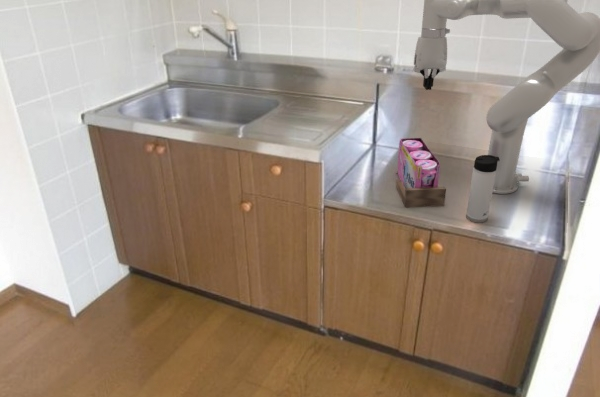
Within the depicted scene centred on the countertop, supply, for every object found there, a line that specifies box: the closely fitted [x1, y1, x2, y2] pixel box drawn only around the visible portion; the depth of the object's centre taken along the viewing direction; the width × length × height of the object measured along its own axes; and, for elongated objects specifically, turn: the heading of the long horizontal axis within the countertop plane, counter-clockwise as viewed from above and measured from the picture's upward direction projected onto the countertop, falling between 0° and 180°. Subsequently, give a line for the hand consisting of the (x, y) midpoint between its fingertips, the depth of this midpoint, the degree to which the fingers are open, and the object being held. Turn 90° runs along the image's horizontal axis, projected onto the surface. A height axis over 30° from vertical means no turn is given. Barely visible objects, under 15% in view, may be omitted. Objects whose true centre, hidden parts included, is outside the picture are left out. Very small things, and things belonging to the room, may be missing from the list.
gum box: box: [397, 137, 441, 189], centre depth 165 cm, size 24×8×14 cm, turn 3°
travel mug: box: [465, 154, 500, 224], centre depth 145 cm, size 6×7×20 cm
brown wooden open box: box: [395, 179, 447, 208], centre depth 162 cm, size 12×14×6 cm
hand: (427, 88), depth 169 cm, fingers closed
